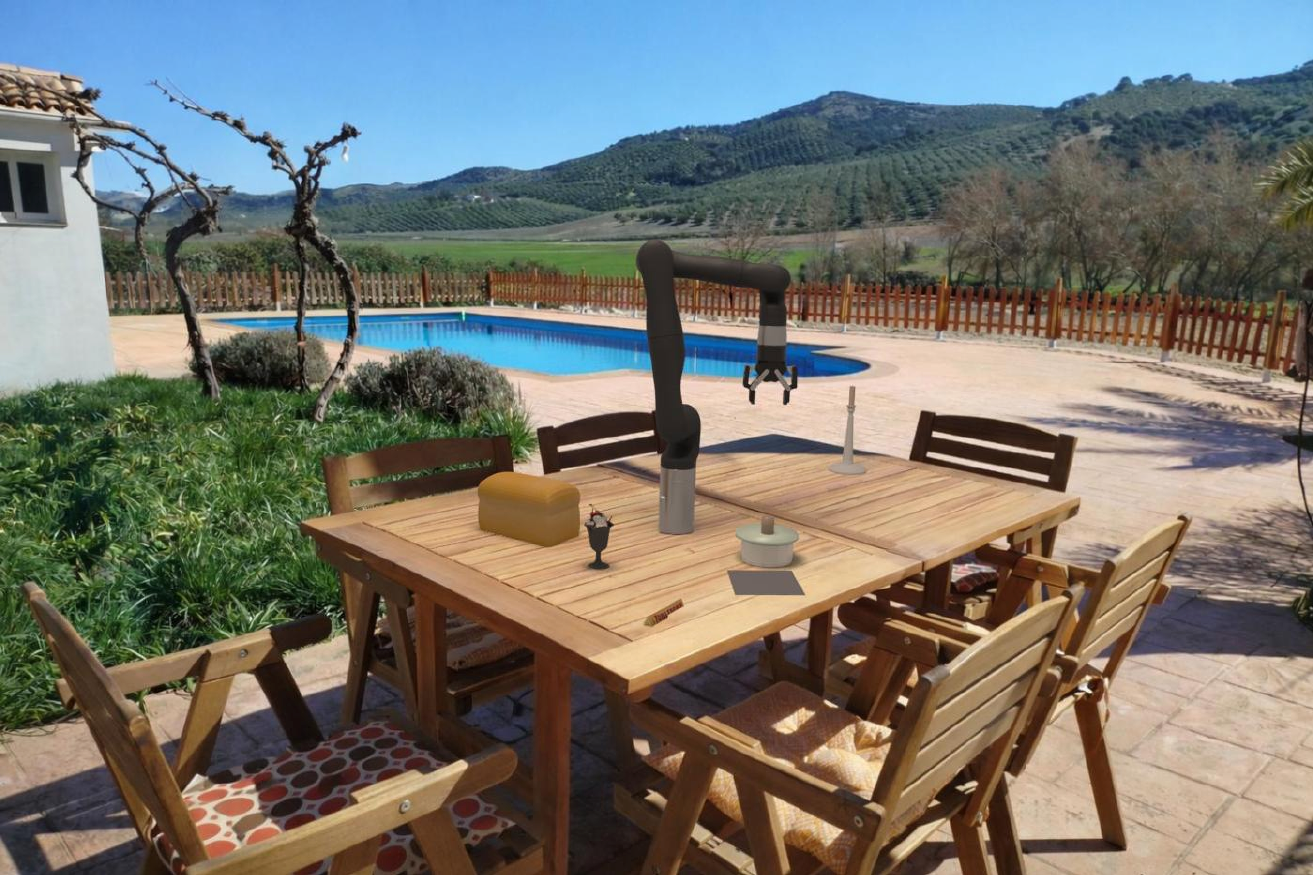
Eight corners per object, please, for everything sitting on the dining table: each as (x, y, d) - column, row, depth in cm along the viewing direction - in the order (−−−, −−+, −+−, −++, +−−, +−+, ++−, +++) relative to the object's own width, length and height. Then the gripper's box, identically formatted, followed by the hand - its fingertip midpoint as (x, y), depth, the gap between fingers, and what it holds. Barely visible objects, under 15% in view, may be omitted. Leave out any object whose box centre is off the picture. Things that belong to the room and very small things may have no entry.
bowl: (744, 568, 203) (745, 543, 201) (738, 551, 214) (738, 528, 213) (796, 568, 203) (797, 544, 202) (786, 552, 215) (787, 528, 214)
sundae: (577, 565, 202) (578, 503, 199) (599, 559, 207) (600, 498, 204) (596, 573, 197) (597, 509, 195) (618, 566, 202) (619, 503, 199)
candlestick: (821, 467, 308) (826, 382, 302) (853, 465, 312) (859, 382, 306) (839, 475, 296) (845, 388, 290) (873, 473, 300) (879, 387, 294)
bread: (581, 535, 225) (581, 479, 222) (548, 548, 214) (548, 489, 211) (511, 519, 238) (510, 465, 235) (477, 530, 227) (475, 474, 225)
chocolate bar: (685, 610, 178) (686, 599, 178) (652, 629, 169) (653, 618, 168) (675, 607, 180) (675, 596, 179) (641, 626, 170) (642, 615, 170)
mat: (735, 596, 185) (735, 594, 185) (726, 572, 200) (726, 570, 200) (805, 596, 186) (805, 594, 186) (791, 572, 201) (791, 570, 201)
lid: (739, 545, 200) (740, 525, 199) (731, 526, 215) (732, 507, 214) (804, 546, 201) (806, 526, 200) (792, 526, 215) (793, 508, 214)
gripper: (746, 343, 224) (744, 406, 227) (801, 344, 224) (798, 407, 228) (742, 341, 231) (740, 402, 234) (796, 342, 232) (792, 402, 235)
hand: (768, 404), depth 231 cm, fingers open, 8 cm apart
